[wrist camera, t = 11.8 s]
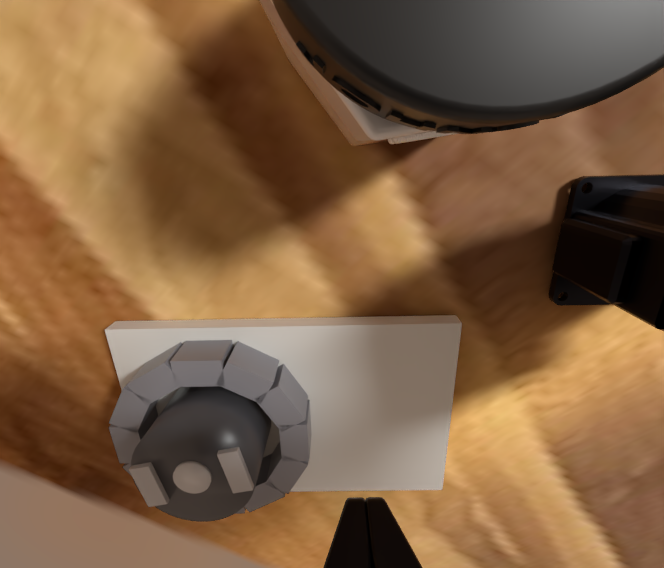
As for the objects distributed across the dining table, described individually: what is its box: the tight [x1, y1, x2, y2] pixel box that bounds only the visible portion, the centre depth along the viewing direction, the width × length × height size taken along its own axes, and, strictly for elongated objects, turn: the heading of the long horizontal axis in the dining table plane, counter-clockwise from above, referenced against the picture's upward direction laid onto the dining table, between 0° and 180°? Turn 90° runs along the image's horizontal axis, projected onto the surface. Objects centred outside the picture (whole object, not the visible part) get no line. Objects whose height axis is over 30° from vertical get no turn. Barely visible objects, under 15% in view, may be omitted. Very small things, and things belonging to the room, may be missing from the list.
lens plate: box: [105, 315, 462, 513], centre depth 20 cm, size 19×12×3 cm, turn 91°
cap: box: [129, 386, 271, 521], centre depth 19 cm, size 6×6×4 cm
